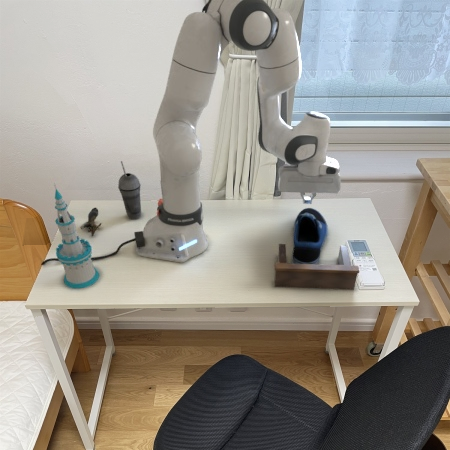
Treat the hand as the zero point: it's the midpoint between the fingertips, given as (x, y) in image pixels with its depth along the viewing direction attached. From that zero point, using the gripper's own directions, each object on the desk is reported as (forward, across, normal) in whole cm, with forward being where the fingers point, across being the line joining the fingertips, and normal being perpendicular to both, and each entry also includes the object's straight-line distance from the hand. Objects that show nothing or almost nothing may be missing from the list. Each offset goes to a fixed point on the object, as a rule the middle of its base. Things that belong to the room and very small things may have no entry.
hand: (306, 203), depth 155 cm
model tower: (+4, -67, -39) cm, 77 cm away
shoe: (+4, 0, -18) cm, 18 cm away
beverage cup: (+4, -59, -5) cm, 59 cm away
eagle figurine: (+4, -71, -14) cm, 72 cm away
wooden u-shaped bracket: (+4, 0, -33) cm, 33 cm away
